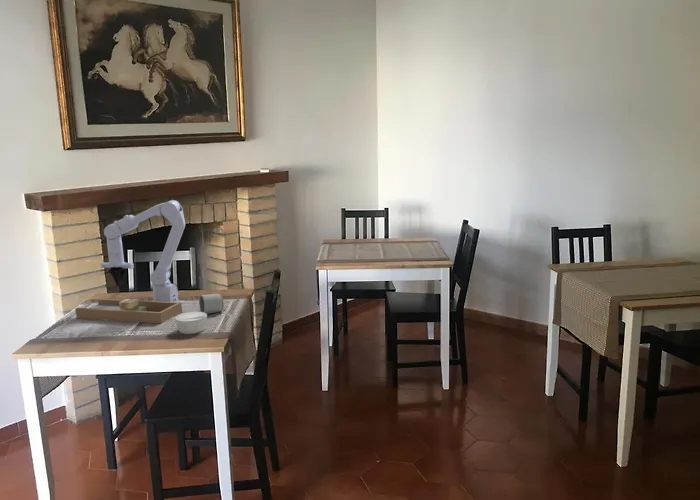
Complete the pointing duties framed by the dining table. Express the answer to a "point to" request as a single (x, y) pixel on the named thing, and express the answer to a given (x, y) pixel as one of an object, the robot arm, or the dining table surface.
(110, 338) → the dining table surface
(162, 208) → the robot arm
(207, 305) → the ceramic mug
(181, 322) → the ramekin
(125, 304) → the wood block
